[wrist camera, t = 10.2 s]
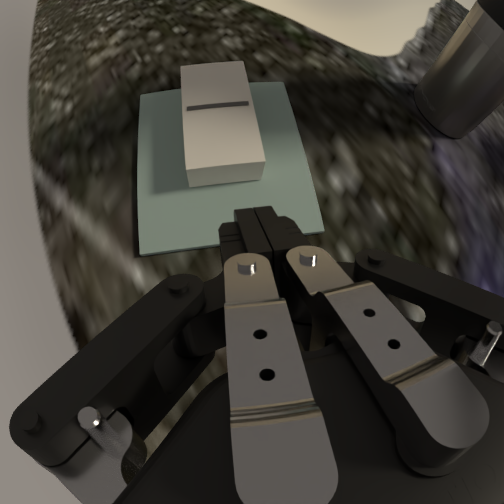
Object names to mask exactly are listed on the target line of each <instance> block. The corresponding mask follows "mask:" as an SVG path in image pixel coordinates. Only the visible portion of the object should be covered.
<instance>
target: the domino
mask: <svg viewBox="0 0 504 504" xmlns="http://www.w3.org/2000/svg"><path fill="white" fill-rule="evenodd" d="M181 94H182V116H183V134H184V150H185V164H186V173H187V178H188V183H189V187H198V186H206V185H214V184H223V183H232V182H241V181H251V180H261V178H262V174H263V170H264V166H265V163H266V160H265V155H264V150H263V146H262V141H261V137H260V132H259V127H258V123H257V118H256V114H255V110H254V105H253V101H252V96H251V92H250V88H249V83H248V79H247V75H246V71H245V67H244V62H243V61H234V62H218V63H206V64H196V65H188V66H181Z"/></svg>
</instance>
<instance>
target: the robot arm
mask: <svg viewBox="0 0 504 504" xmlns="http://www.w3.org/2000/svg"><path fill="white" fill-rule="evenodd" d="M414 98H415V102H416V104H417V106H418V108H419V110H420V111H421V113H422V114H423V115H424V117H425V118H426V119H427V120H428V121H429V122H430V123H431V124H432V125H433V126H434V127H435V128H436V129H438V130H439V131H441V132H442V133H444V134H445V135H447V136H449V137H452V138H458V139H459V138H462V137H464V136H465V135H466V134H467V133H468V132H471V131H472V130H474V129H475V128H476V127H477V126H478V125H479V124H480V123H481V122H482V121H483V120H484V119H485V118H486V117H487V116H488V115H490V114H491V113H492V112H493V111H494V110H495V109H496V108H497V107H498V106H499V105H500V104H501V103H502V102H503V101H504V0H477V1H476V2H475V4H474V6H473V7H472V8H471V10H470V11H469V13H468V14H467V16H466V17H465V19H464V20H463V22H462V23H461V25H460V26H459V28H458V29H457V30H456V32H455V33H454V35H453V36H452V38H451V39H450V40H449V42H448V43H447V45H446V46H445V48H444V49H443V50H442V52H441V53H440V55H439V56H438V57H437V59H436V60H435V62H434V63H433V64H432V66H431V67H430V69H429V70H428V71H427V73H426V74H425V75H424V77H423V78H422V80H421V81H420V82H419V84H418V85H417V86H416V88H415V90H414ZM218 233H219V243H220V252H221V261H222V267H223V271H222V272H221V273H220V274H219V275H218V276H217V277H215V278H213V279H211V280H209V281H206V282H202V280H201V279H200V278H198V277H197V276H194V275H191V274H178V275H173V276H170V277H168V278H166V279H164V280H163V281H161V282H160V283H159V284H158V285H156V286H155V287H154V288H153V289H152V290H150V291H149V292H148V293H147V294H146V295H144V296H143V297H142V298H141V299H140V300H138V301H137V302H136V303H135V304H134V305H132V306H131V307H130V308H129V309H128V310H126V311H125V312H124V313H123V314H122V315H121V316H119V317H118V318H117V319H116V320H115V321H114V322H112V323H111V324H110V325H109V326H108V327H106V328H105V329H104V330H103V331H102V332H101V333H100V334H98V335H97V336H96V337H95V338H94V339H93V340H91V341H90V342H89V343H88V344H87V345H86V346H85V347H83V348H82V349H81V350H80V351H79V352H78V353H77V354H75V355H74V356H73V357H72V358H71V359H70V360H69V361H67V362H66V363H65V364H64V365H63V366H62V367H61V368H60V369H59V370H57V371H56V372H55V373H54V374H53V375H52V376H51V377H50V378H48V380H46V381H45V382H44V383H43V384H42V385H41V386H40V387H39V388H38V389H36V390H35V391H34V392H33V393H32V394H31V395H30V396H29V397H28V398H27V399H26V400H25V401H23V402H22V403H21V404H20V405H19V406H18V407H17V408H16V410H15V411H14V412H13V414H12V417H11V419H10V426H9V429H10V435H11V437H12V440H13V441H14V442H15V444H16V445H17V446H19V447H20V448H21V449H23V450H24V451H25V452H26V453H27V454H29V455H30V456H31V457H32V458H33V459H34V460H35V461H36V462H37V463H38V464H39V465H41V466H42V467H44V468H45V469H46V470H48V471H49V472H51V473H52V474H54V475H55V476H56V477H57V478H58V479H59V480H60V481H61V482H62V483H63V484H64V486H65V487H66V488H67V489H68V490H69V491H70V492H71V493H72V494H73V495H74V496H75V497H76V498H77V499H78V500H79V501H80V502H81V503H82V504H504V298H503V297H501V296H498V295H496V294H494V293H491V292H489V291H486V290H484V289H481V288H479V287H476V286H474V285H471V284H469V283H466V282H464V281H461V280H459V279H456V278H454V277H451V276H449V275H446V274H443V273H441V272H438V271H436V270H433V269H430V268H428V267H425V266H422V265H420V264H417V263H414V262H412V261H409V260H406V259H404V258H401V257H398V256H395V255H393V254H390V253H387V252H384V251H381V250H376V249H366V250H362V251H360V252H358V253H357V254H356V257H355V263H348V262H336V261H335V260H334V259H333V258H332V257H331V256H330V255H329V254H328V253H327V252H326V251H325V250H323V249H321V248H319V247H315V246H311V244H310V243H309V241H308V240H307V238H306V237H305V236H304V234H303V233H302V231H301V230H300V228H298V226H297V224H296V223H295V221H294V220H292V219H290V218H288V217H287V216H277V214H276V212H275V211H274V209H273V207H272V206H261V207H253V208H243V209H234V222H226V223H222V224H221V226H220V227H219V229H218ZM389 294H391V295H393V296H396V297H398V298H401V299H403V300H406V301H408V302H410V303H413V304H415V305H418V306H420V307H421V308H422V309H423V310H424V312H425V315H426V318H425V321H423V322H415V321H413V320H411V319H408V318H406V317H404V316H402V314H401V313H400V312H399V311H398V310H397V309H396V308H395V306H394V305H393V304H392V303H391V302H390V301H389V300H388V298H389ZM225 346H226V347H227V364H228V372H227V373H225V374H223V375H221V376H219V377H218V378H216V379H215V380H213V381H212V382H211V383H209V384H208V385H207V386H206V387H205V388H204V389H203V390H202V391H201V392H200V393H199V394H198V395H197V396H196V398H195V399H194V400H193V402H192V403H191V404H190V406H189V407H188V408H187V410H186V411H185V412H184V414H183V415H182V416H181V418H180V419H179V420H178V422H177V423H176V424H175V426H174V427H173V428H172V430H171V431H170V432H169V433H168V435H167V436H166V437H165V439H164V440H163V441H162V442H161V444H160V445H159V446H158V448H157V449H156V450H155V451H154V453H153V454H152V455H151V457H150V458H149V459H148V460H147V462H146V463H145V461H146V457H147V448H146V445H145V443H144V440H145V439H146V438H147V437H148V435H149V434H150V433H151V432H152V431H153V430H154V429H155V427H156V426H157V425H158V424H159V423H160V422H161V420H162V419H163V418H164V417H165V416H166V415H167V413H168V412H169V411H170V410H171V409H172V408H173V406H174V405H175V404H176V403H177V402H178V401H179V399H180V398H181V397H182V396H183V395H184V393H185V392H186V391H187V390H188V389H189V387H190V386H191V385H192V384H193V383H194V381H195V380H196V379H197V378H198V377H199V375H200V374H201V373H202V372H203V371H204V369H205V368H206V367H207V366H208V364H209V363H210V362H211V361H212V359H213V358H214V356H215V350H218V349H220V348H223V347H225ZM144 463H145V464H144ZM142 466H143V467H142Z"/></svg>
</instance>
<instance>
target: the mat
mask: <svg viewBox="0 0 504 504" xmlns="http://www.w3.org/2000/svg"><path fill="white" fill-rule="evenodd" d="M249 88H250V92H251V96H252V101H253V105H254V110H255V114H256V118H257V123H258V127H259V132H260V137H261V141H262V146H263V150H264V155H265V160H266V163H265V166H264V170H263V174H262V178H261V180H251V181H241V182H232V183H223V184H214V185H206V186H198V187H189V183H188V178H187V173H186V164H185V150H184V134H183V116H182V94H181V89H175V90H168V91H161V92H155V93H149V94H143V95H141V96H140V111H139V129H138V163H137V196H138V230H139V249H140V255H141V256H148V255H155V254H162V253H170V252H177V251H185V250H193V249H200V248H208V247H216V246H220V243H219V233H218V229H219V227H220V226H221V224H222V223H226V222H234V209H243V208H253V207H261V206H272V207H273V209H274V211H275V212H276V214H277V216H287V217H288V218H290V219H292V220H294V221H295V223H296V224H297V226H298V228H300V230H301V231H302V233H303V234H304V235H311V234H319V233H323V232H324V227H323V222H322V218H321V214H320V210H319V205H318V201H317V197H316V193H315V189H314V185H313V182H312V178H311V174H310V170H309V166H308V163H307V159H306V155H305V152H304V148H303V145H302V141H301V138H300V134H299V131H298V127H297V124H296V121H295V117H294V114H293V111H292V108H291V104H290V101H289V98H288V95H287V92H286V89H285V86H284V83H283V82H254V83H249Z"/></svg>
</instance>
